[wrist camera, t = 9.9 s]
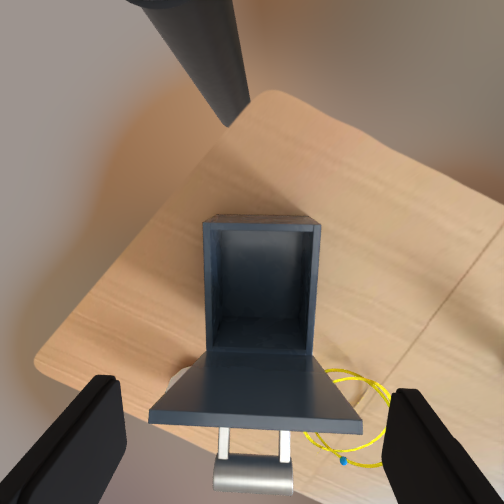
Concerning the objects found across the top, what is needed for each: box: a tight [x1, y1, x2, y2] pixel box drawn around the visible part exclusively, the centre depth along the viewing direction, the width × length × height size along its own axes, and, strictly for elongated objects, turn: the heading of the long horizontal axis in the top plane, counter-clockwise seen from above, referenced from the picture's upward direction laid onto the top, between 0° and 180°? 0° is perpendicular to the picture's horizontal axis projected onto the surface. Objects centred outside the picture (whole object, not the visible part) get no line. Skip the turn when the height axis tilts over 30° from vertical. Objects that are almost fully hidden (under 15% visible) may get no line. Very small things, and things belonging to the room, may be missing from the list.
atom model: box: [304, 369, 391, 468], centre depth 39 cm, size 14×15×14 cm
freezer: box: [203, 214, 321, 355], centre depth 35 cm, size 16×13×9 cm
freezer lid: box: [148, 351, 363, 496], centre depth 24 cm, size 16×13×6 cm
